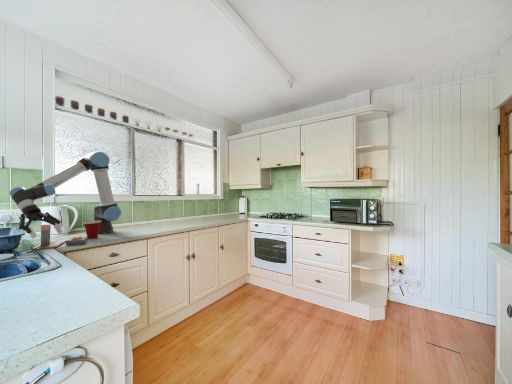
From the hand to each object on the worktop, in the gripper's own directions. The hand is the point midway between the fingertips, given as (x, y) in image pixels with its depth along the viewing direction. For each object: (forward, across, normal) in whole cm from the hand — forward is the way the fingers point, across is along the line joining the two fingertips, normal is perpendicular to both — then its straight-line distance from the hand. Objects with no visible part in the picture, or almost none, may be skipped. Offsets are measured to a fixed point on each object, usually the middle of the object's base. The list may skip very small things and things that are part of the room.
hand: (48, 234), depth 130 cm
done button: (+8, -13, 0) cm, 15 cm away
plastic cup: (+4, -29, -7) cm, 30 cm away
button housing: (+9, -13, -2) cm, 16 cm away
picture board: (+2, -4, -9) cm, 10 cm away
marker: (+3, 0, -6) cm, 7 cm away
